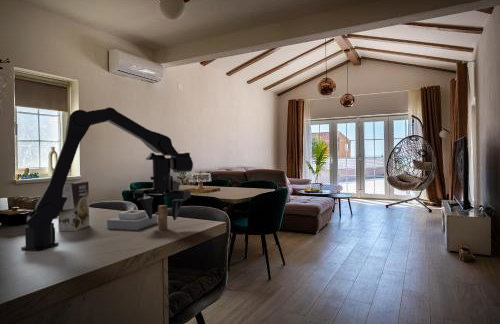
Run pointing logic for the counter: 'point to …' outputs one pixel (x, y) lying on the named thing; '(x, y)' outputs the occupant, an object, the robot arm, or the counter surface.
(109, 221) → the button box
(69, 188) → the coffee box
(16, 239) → the counter surface
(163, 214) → the tapered wooden peg
